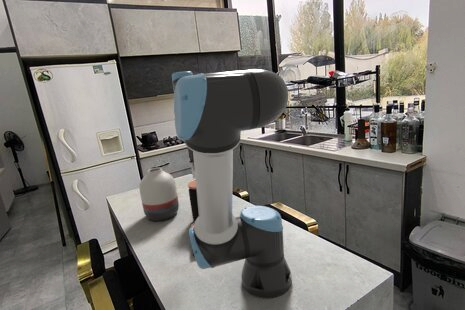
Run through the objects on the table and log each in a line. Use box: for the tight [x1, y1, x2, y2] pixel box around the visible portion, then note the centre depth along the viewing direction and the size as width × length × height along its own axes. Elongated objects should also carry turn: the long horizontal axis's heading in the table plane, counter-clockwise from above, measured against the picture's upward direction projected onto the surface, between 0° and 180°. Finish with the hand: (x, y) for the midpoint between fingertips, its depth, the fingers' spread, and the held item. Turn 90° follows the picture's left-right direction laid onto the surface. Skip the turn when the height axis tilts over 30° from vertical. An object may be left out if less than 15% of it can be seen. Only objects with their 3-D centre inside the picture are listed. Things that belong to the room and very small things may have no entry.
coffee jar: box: [187, 179, 199, 223], centre depth 127 cm, size 11×11×18 cm
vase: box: [138, 167, 180, 222], centre depth 135 cm, size 17×17×24 cm
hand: (196, 177), depth 107 cm, fingers closed
